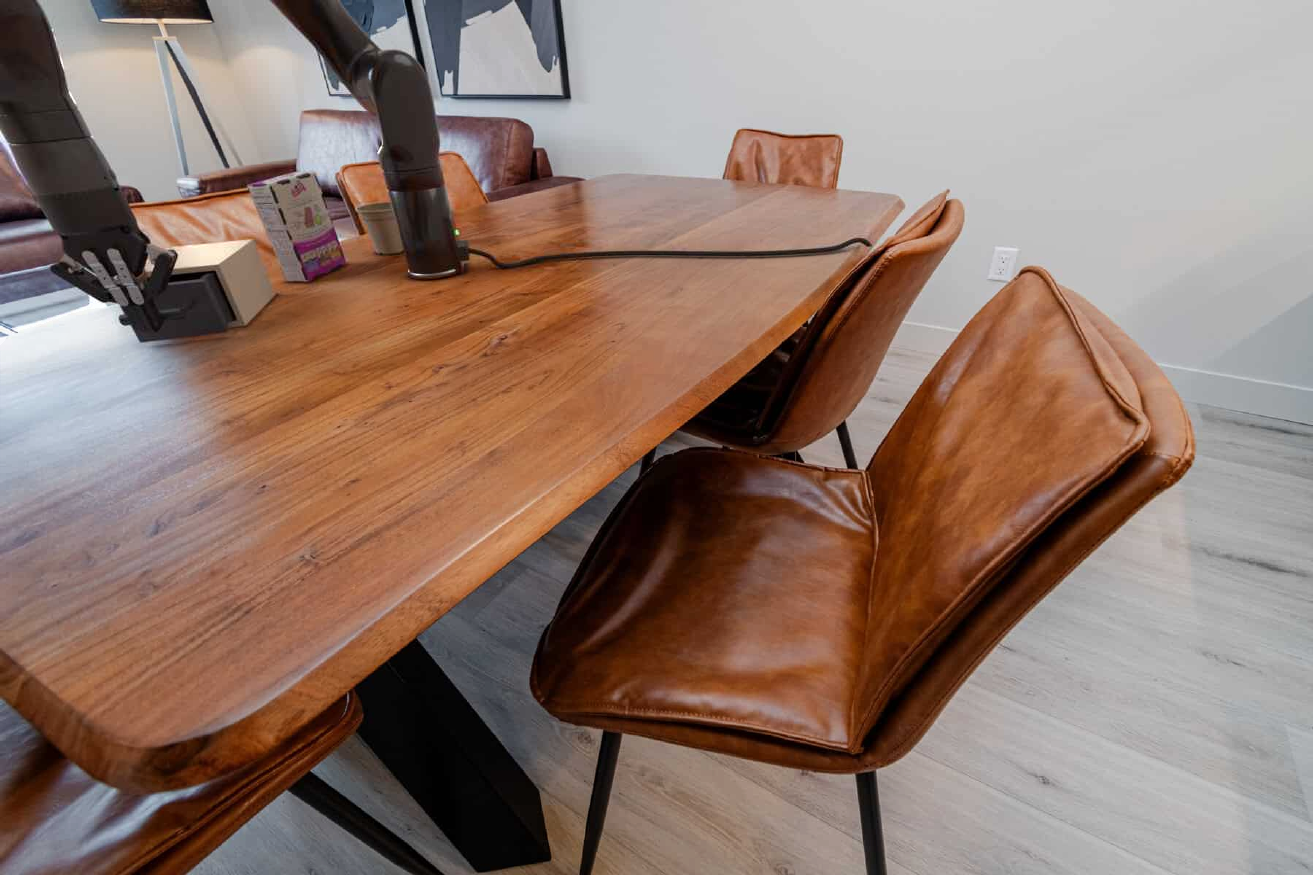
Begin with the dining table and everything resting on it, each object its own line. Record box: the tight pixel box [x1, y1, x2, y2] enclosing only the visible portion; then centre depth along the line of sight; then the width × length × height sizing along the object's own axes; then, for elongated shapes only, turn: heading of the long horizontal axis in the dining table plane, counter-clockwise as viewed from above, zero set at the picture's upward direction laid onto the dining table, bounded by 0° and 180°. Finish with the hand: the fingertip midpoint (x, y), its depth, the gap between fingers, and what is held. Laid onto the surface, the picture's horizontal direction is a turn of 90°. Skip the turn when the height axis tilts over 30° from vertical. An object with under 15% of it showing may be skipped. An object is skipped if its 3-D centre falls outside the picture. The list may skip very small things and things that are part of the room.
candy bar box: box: [246, 171, 347, 283], centre depth 105 cm, size 11×5×16 cm, turn 168°
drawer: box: [118, 270, 235, 344], centre depth 84 cm, size 18×11×7 cm, turn 13°
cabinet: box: [144, 238, 276, 329], centre depth 91 cm, size 15×12×9 cm
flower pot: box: [354, 200, 404, 255], centre depth 118 cm, size 9×9×9 cm
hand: (152, 330), depth 76 cm, fingers closed
